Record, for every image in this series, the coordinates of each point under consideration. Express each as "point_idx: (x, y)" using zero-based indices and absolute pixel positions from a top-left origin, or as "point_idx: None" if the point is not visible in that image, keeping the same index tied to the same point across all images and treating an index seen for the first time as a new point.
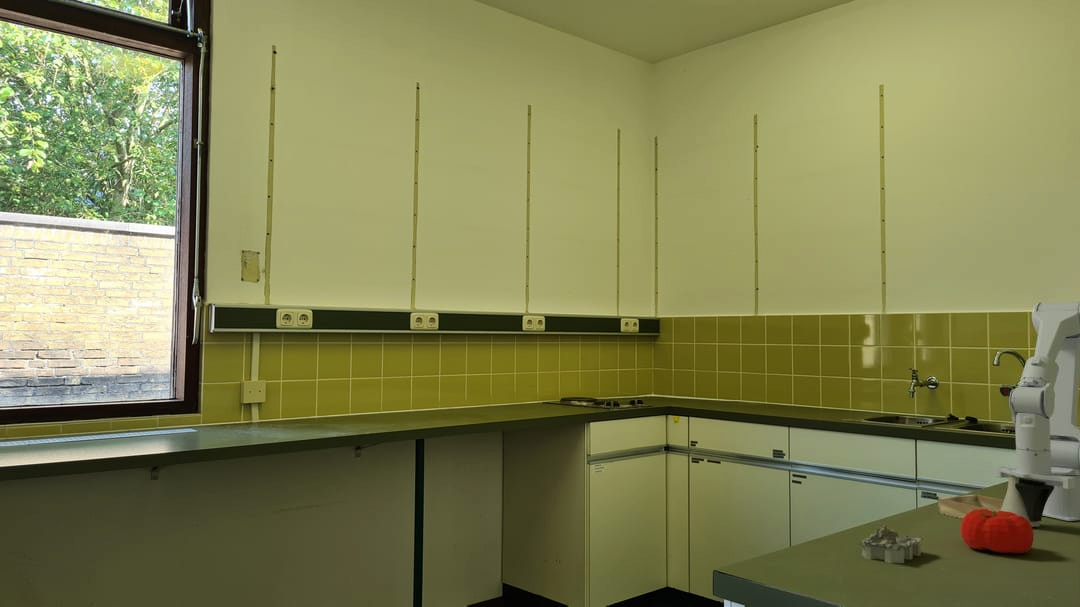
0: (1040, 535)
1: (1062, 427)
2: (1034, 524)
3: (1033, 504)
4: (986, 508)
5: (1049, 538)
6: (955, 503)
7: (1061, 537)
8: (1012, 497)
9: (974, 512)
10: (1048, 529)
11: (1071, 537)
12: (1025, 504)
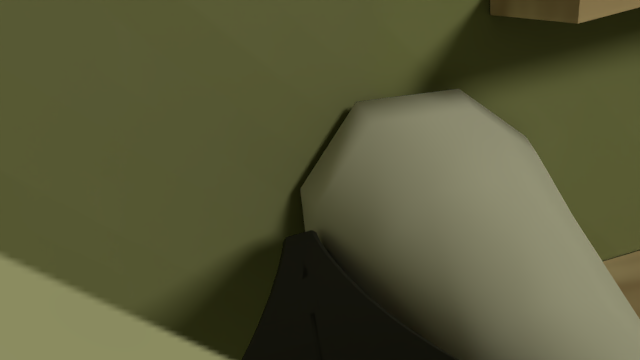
0: (114, 143)
1: None
2: None
3: (263, 324)
4: (585, 16)
5: (15, 142)
6: None
7: (58, 233)
8: (499, 271)
9: None
10: None
11: (64, 284)
12: (352, 289)
